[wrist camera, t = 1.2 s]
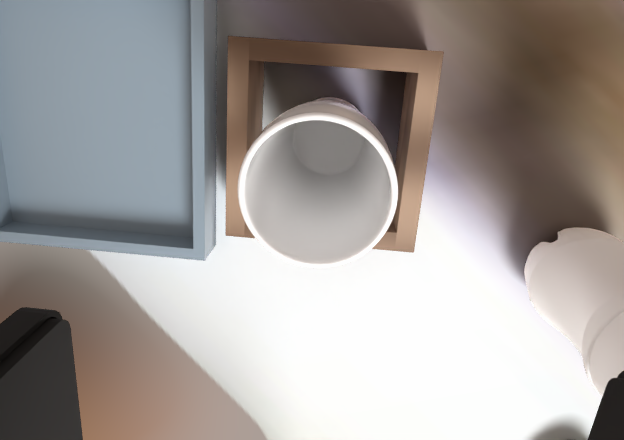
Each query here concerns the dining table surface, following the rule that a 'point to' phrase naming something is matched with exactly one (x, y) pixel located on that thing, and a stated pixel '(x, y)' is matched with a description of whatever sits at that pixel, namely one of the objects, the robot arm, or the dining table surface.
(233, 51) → the frame
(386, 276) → the dining table surface
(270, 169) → the drinking glass
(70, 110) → the tray
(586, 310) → the water bottle
